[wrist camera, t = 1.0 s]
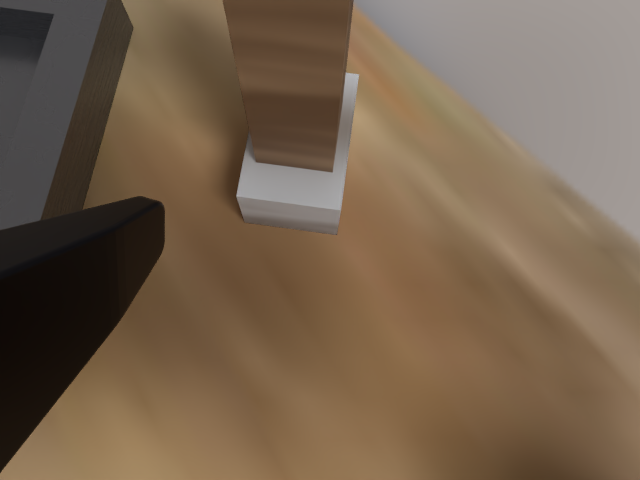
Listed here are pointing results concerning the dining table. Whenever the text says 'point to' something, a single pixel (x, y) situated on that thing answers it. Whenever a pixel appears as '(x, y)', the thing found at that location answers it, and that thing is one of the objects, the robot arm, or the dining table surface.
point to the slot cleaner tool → (294, 109)
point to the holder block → (55, 100)
